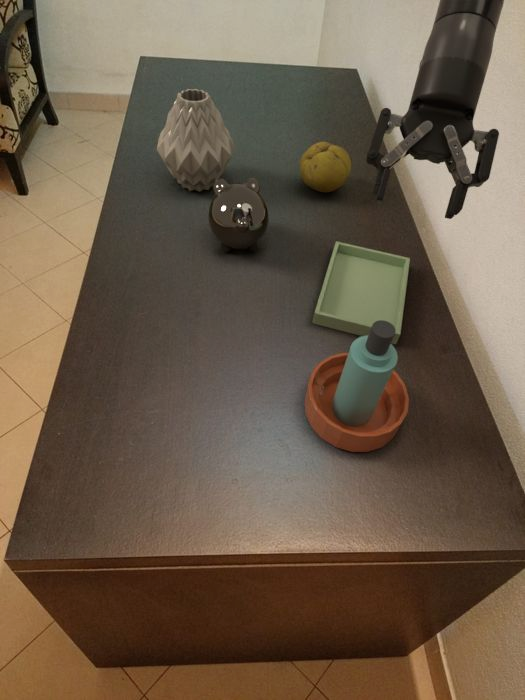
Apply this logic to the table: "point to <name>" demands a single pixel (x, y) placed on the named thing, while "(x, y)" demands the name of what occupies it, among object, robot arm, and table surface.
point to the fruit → (325, 167)
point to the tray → (362, 290)
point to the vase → (195, 141)
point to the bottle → (365, 375)
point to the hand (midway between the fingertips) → (413, 209)
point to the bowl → (346, 436)
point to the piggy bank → (238, 214)
